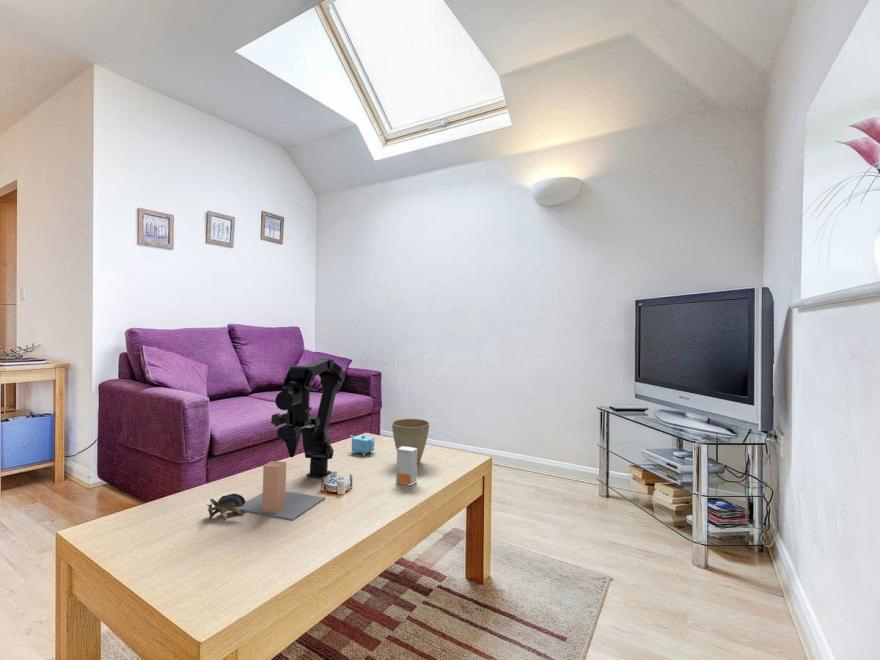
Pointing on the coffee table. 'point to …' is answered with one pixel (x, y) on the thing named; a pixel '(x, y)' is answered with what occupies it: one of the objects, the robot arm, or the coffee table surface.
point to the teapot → (362, 444)
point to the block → (274, 486)
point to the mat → (293, 505)
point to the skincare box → (406, 465)
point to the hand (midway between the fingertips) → (298, 453)
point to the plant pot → (411, 434)
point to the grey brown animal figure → (227, 505)
